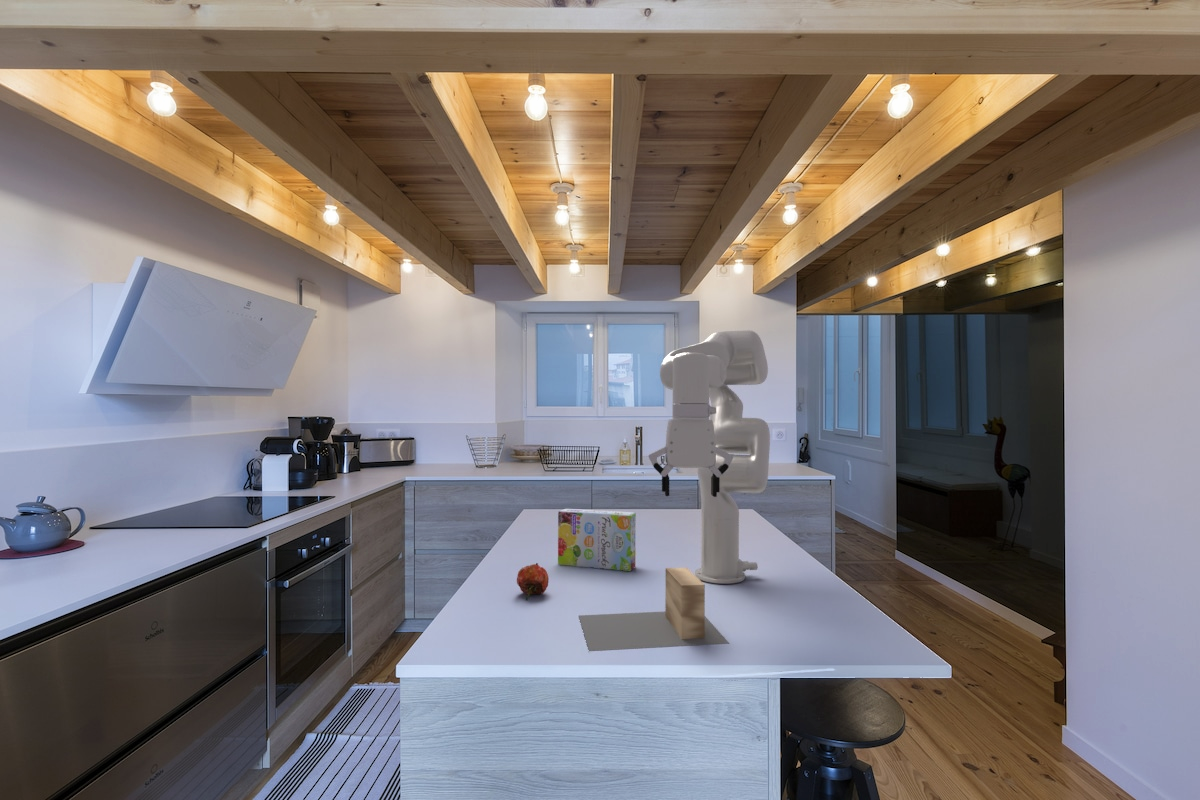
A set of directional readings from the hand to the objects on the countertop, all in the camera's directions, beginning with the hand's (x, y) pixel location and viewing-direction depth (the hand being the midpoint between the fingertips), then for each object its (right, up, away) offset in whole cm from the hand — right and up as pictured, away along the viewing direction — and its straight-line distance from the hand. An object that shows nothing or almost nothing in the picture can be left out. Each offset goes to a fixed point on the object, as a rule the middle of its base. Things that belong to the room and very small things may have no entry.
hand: (690, 495), depth 123 cm
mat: (-9, -25, -6) cm, 28 cm away
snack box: (-20, -26, +41) cm, 52 cm away
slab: (-2, -25, -5) cm, 26 cm away
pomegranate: (-34, -26, +15) cm, 46 cm away
